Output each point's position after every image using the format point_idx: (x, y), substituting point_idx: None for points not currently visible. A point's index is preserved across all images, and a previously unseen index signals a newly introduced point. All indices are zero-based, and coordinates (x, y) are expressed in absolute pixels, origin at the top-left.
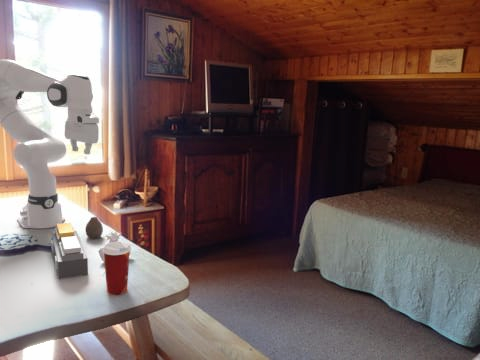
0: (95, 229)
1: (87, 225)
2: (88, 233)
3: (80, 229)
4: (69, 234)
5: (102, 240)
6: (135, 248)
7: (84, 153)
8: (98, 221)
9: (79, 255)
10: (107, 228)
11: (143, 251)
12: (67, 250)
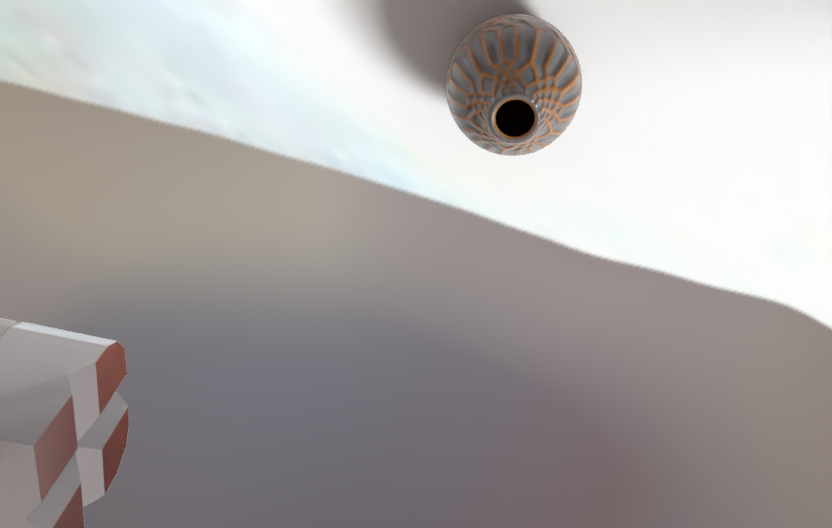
0: (456, 58)
1: (530, 41)
2: (505, 15)
3: (742, 119)
4: None
5: (416, 61)
6: (132, 96)
7: (91, 337)
8: (478, 126)
9: None
10: (588, 249)
11: (55, 90)
12: None
